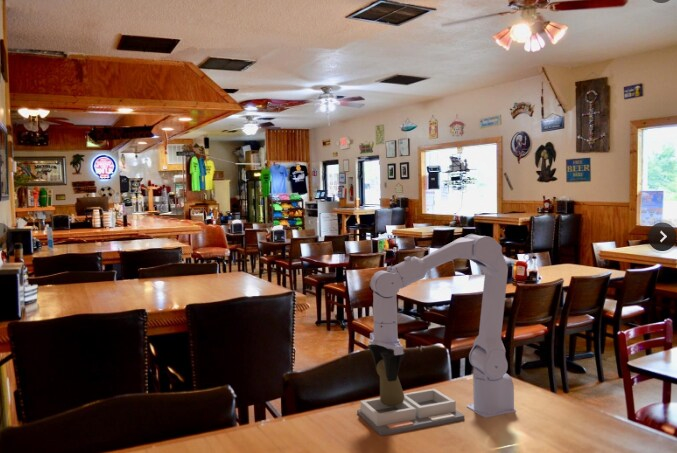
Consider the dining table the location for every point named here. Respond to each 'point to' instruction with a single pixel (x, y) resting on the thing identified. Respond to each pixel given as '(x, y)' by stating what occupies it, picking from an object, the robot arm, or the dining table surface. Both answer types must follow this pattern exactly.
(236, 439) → the dining table surface
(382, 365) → the cork
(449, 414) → the caddy
